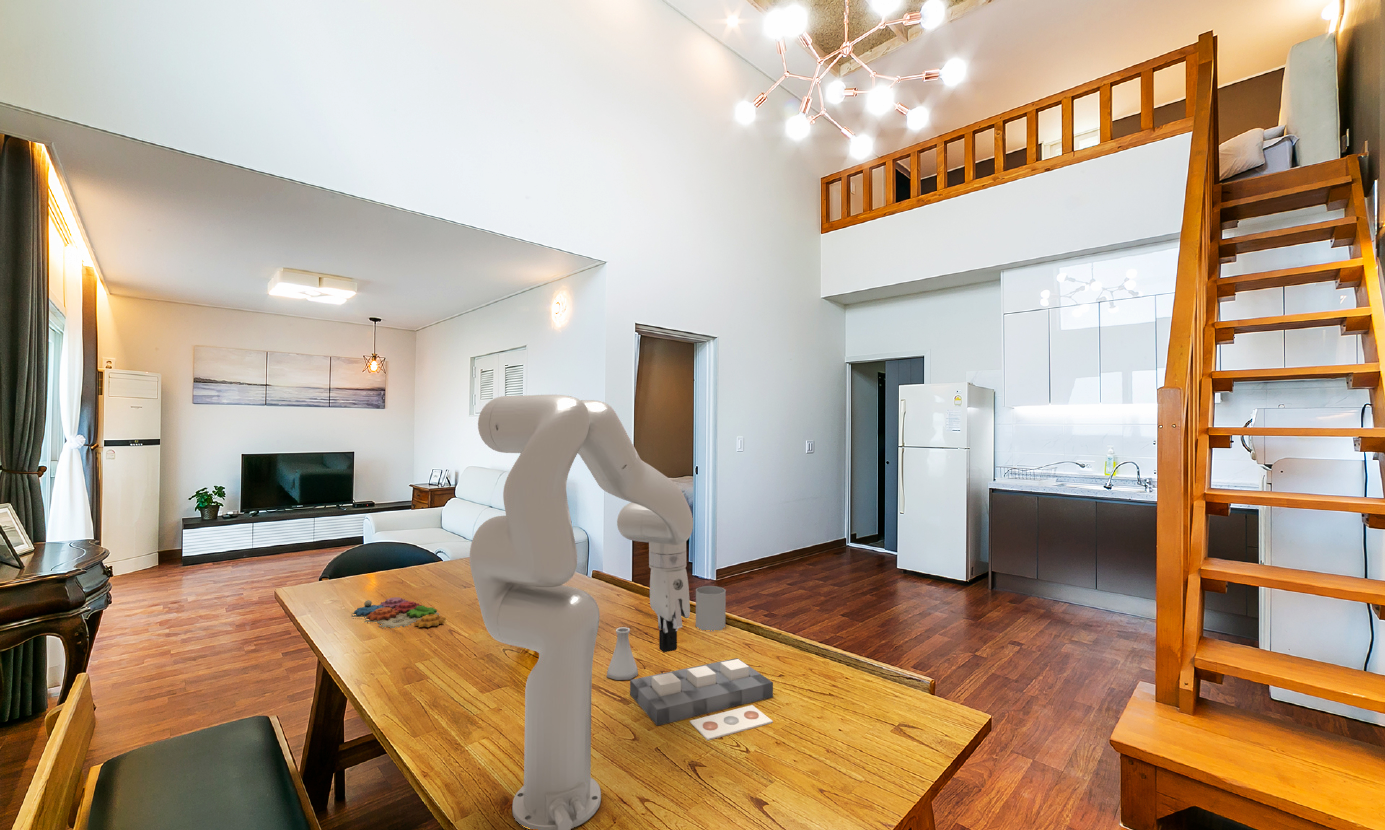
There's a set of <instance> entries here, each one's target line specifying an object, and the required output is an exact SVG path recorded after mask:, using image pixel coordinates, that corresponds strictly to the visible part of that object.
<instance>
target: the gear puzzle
mask: <svg viewBox="0 0 1385 830" xmlns="http://www.w3.org/2000/svg"><path fill="white" fill-rule="evenodd" d="M363 605H364V606H363V607H362V606H361V607H358V608H357V609H356V610H354V612H352V613H351V617H364V618H365V617H366V618H365V619H369V620H365V619H364V623H365V622H377V623H379V624H382V625H379V624H378V625H379V627H378V628H380V627H383V628H384V627H386V628H388V627H390V628H389V629H391V628H395V627H398V628H401V627H400V626H402V628H406V627H405V626H407V627H409V626H408V625H410V624H411V623H412V624H414V627H418V628H423V627H426V628H430V627H432V626H434V627H436V626H439V624H445V621H446V617H445V616H441V615H440V612H438V610H437V609H436V608H434V607H427V606H425V605H422V604H420V603H417V602H415V601H414V600H413V601H409V600H408V599H407V600H405V598H402V597H400V596H399V597H396V596H395V597H390V598H387V599H386V600H385V601H383V602H382V601H381V603H380V604H377V605H376V604H373V602H372V600H370V599H367V600H365V601H364V603H363ZM352 614H356V615H354V616H353V615H352ZM413 622H415V623H413ZM412 624H411V625H412ZM411 625H410V626H411ZM383 628H382V629H383ZM384 629H385V628H384ZM395 629H396V628H395Z"/></svg>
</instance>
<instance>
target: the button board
mask: <svg viewBox="0 0 1385 830" xmlns="http://www.w3.org/2000/svg"><path fill="white" fill-rule="evenodd" d="M735 659H739V660H740V661H742V660H741V659H740V658H738V657H735V658H732V659H725V660H721V661H716V662H711V663H706V664H702V665H701V664H700V665H696V666H691V667H686V668H682V669H677V670H673V671H668V672H662V673H657V674H652V675H647V676H643V677H642V676H641V677H638V678H632V679H630V680H629V694H630V696H631V698H633V700H634V701H635V702H636V703H637V705H639V707H640V708H641V709H642V710H643V711H644V712H645V714H646V715H647V716H648V718H650V719H651V721H652V722H653V723H654V724H655V725H656V726H658V727H659V726H662V725H666V724H670V723H674V722H679V721H683V720H686V719H690V718H694V717H695V718H696V717H698V716H699V717H700V716H704V715H706V714H711V713H715V712H718V711H723V710H727V709H730V707H731V708H734V707H738V705H739V706H742V705H747V704H750V703H751V704H752V703H754V702H759V701H762V700H767V699H771V698H773V697H774V682H773V681H771V680H770V679H769V678H767V677H766V676H764V675H763V674H762V673H760V672H758V671H757V670H755V668H753V667H751V666H750V665H748V664H747V663H745V662H744V661H742V662H743V663H745V664H746V665H748V666H749V677H745V678H741V679H736V680H732V681H730V680H729V679H727V678H726V677H725V676H724V675H722V674H721V673H720V666H721V662H725V661H730V660H735ZM701 666H707V667H708V668H710V669H711V670H712V671H713V672H715V673H716V684H714V685H710V686H705V687H701V688H695V687H694V686H693V685H692V684H691V683H689V682H688V681H687V669H691V668H696V667H701ZM667 673H673V674H674V675H675V676H676V677H677V678H678V679H679V680H680V681H681V692H678V693H674V694H669V695H665V696H659V695H658V694H657V693H656V692H655V691H654V690H653V689H652V676H657V675H662V674H667Z"/></svg>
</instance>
